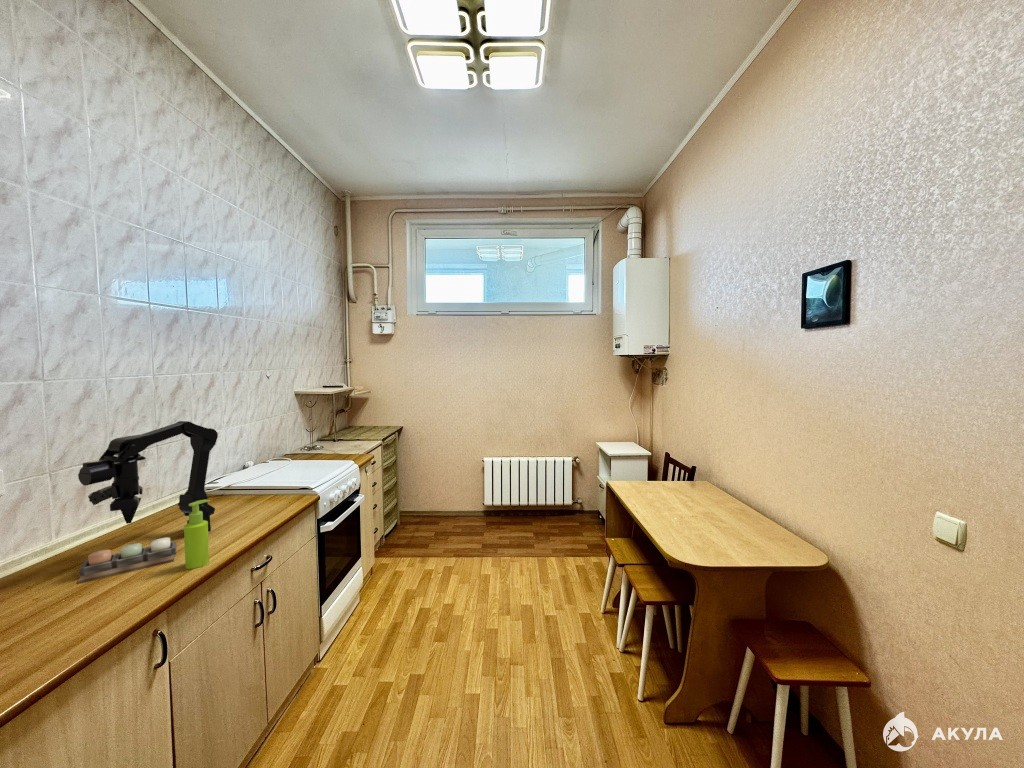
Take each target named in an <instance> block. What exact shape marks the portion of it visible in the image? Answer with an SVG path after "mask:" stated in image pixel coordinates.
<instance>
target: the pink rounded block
mask: <svg viewBox="0 0 1024 768" xmlns="http://www.w3.org/2000/svg"><path fill="white" fill-rule="evenodd" d="M111 554H112V550H111V549H103V550H97V551H95V552H91V553H89V554H88V556H87V557H88V559H87V560H89V566H92V565H97V564H101V563H106V562H110V561H111Z"/></svg>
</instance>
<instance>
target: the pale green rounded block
mask: <svg viewBox="0 0 1024 768" xmlns="http://www.w3.org/2000/svg"><path fill="white" fill-rule="evenodd" d="M142 546H143V545H142V543H138V542H137V543H130V544H128V545H125V546H122V547H121V548H120V553H121V559H124V558H129V557H133V556H138V555H142V548H143V547H142Z"/></svg>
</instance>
